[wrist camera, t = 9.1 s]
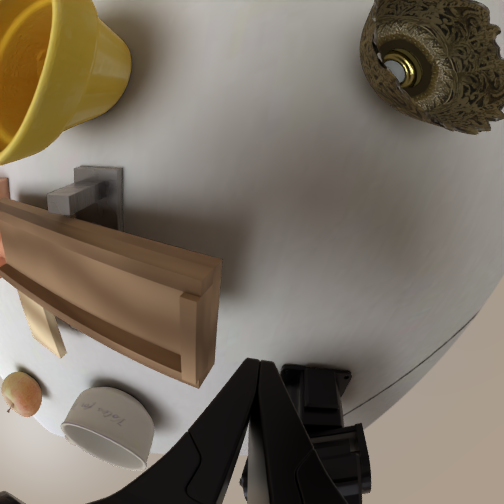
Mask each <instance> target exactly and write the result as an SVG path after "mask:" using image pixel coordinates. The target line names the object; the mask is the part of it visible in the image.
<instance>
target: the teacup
mask: <svg viewBox="0 0 504 504" xmlns="http://www.w3.org/2000/svg"><path fill="white" fill-rule="evenodd" d="M61 429H62V431H63V433H64V434H65V438H66V440H67V441H68V442H69V443H70V444H72V445H75V446H76V445H77V446H78V447H80V448H81V449H83V450H84V451H85V452H87V453H89V454H90V455H92V456H94V457H96V458H98V459H100V460H102V461H105V462H107V463H109V464H111V465H114V466H117V467H121V468H124V469H128V470H136V471H140V470H144V469H145V468H146V466H147V463H146V462H147V459H148V455H149V452H150V448H151V445H152V441H153V437H154V424H153V421H152V419H151V417H150V415H149V414H148V413H147V411H146V409H145V408H144V406H143V405H142V404H141V403H140V402H139V401H138V400H136V399H135V398H134V397H132V396H131V395H129V394H127V393H125V392H123V391H121V390H118V389H115V388H111V387H100V388H99V387H98V388H89V389H87V390H85V391H83V392H82V393H81V394H80V395H79V396H78V398H77V399H76V401H75V402H74V404H73V406H72V408H71V409H70V411H69V413H68V415H67V417H66V419H65V421H64V422H63V423H62V424H61Z"/></svg>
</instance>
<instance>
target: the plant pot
mask: <svg viewBox="0 0 504 504" xmlns="http://www.w3.org/2000/svg"><path fill="white" fill-rule="evenodd" d="M131 64H132V63H131V55H130V52H129V49H128V47H127V45H126V44H125V42H124V41H123V40H122V39H121V38H120V37H119V36H118V35H116V34H115V33H114V32H113V31H112V30H111V29H110V28H109V27H108V26H107V25H106V24H105V23H103V22H102V21H101V20H100V19H99V18H98V16H97V12H96V9H95V6H94V4H93V2H92V0H0V165H4V164H7V163H10V162H14V161H17V160H20V159H23V158H25V157H28V156H31V155H34V154H36V153H38V152H40V151H42V150H44V149H45V148H46V147H48V146H49V145H50V144H51V143H52V142H54V141H55V140H56V139H57V138H58V137H59V135H60V134H61V133H62V132H63V131H65V130H67V129H69V128H71V127H74V126H76V125H78V124H81V123H83V122H86V121H88V120H91V119H93V118H95V117H98V116H100V115H102V114H104V113H105V112H106V111H108V110H109V109H110V108H111V107H112V106H113V105H114V104H115V103H116V102H117V101H118V100H119V98H120V97H121V95H122V94H123V92H124V90H125V88H126V86H127V84H128V81H129V78H130V73H131Z"/></svg>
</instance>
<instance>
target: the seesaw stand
mask: <svg viewBox="0 0 504 504" xmlns="http://www.w3.org/2000/svg"><path fill="white" fill-rule="evenodd" d="M122 172H123V168H106V167H83V166H80V167H77V168H74V183H73V184H71V185H68V186H66V187H63V188H61V189H58V190H56V191H53V192H51V193H49V194H47V204H48V213H54V214H61V215H68V216H71V215H72V214H74V213H76V219H79V220H82V221H86V222H89V223H93V224H96V225H100V226H103V227H107V228H110V229H114V230H117V231H121V232H123V209H122ZM70 326H71V325H70ZM71 328H74V327H73V326H71ZM74 329H76V328H74ZM77 330H78V329H77Z"/></svg>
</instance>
